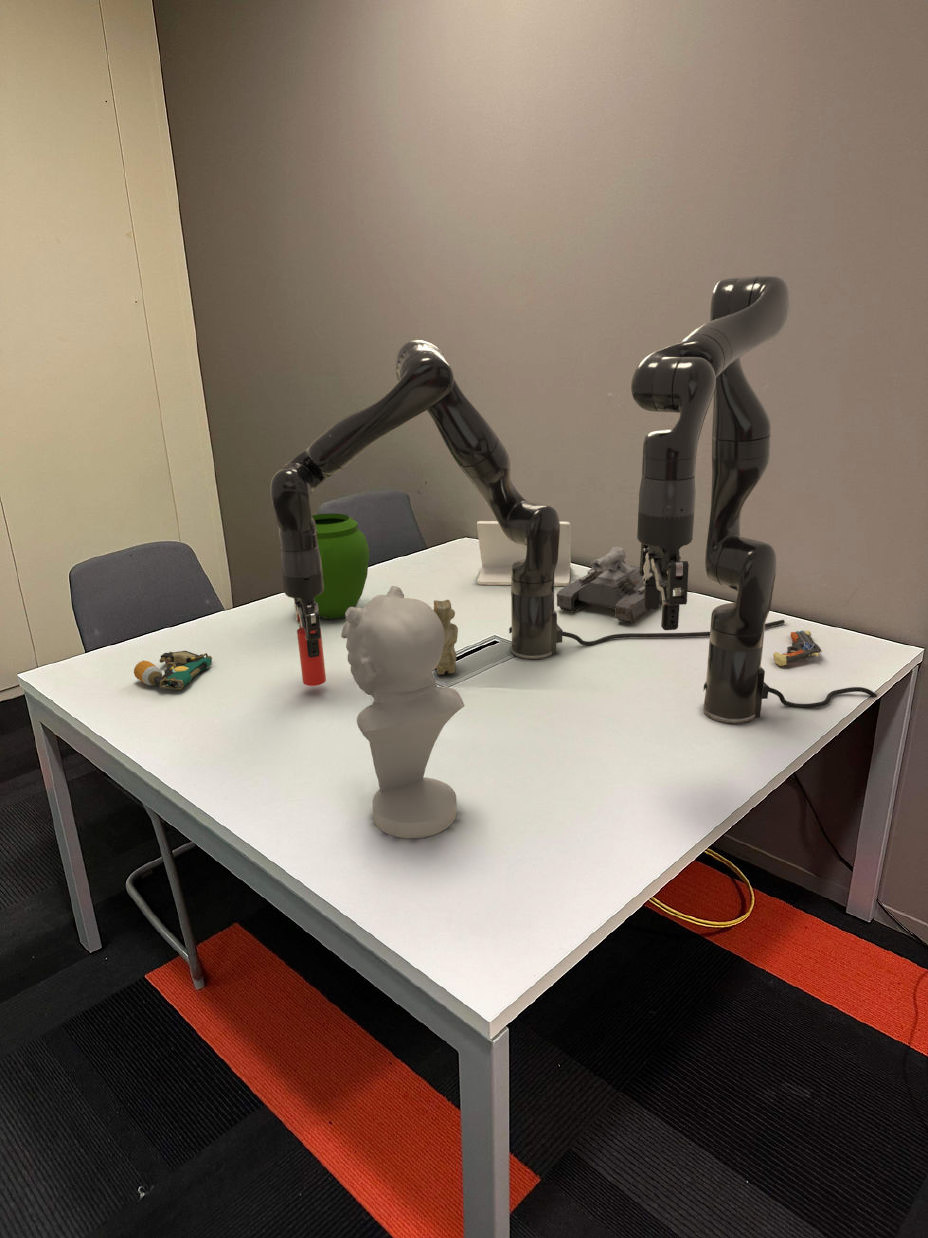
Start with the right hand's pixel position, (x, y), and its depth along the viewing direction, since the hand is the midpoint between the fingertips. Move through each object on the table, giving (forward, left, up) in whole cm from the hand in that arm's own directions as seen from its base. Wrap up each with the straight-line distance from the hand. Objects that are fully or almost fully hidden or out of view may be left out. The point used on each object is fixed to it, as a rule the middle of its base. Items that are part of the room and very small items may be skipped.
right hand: (660, 618), depth 123 cm
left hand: (+55, -46, -21) cm, 75 cm away
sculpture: (+28, -52, -29) cm, 66 cm away
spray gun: (+85, -58, -29) cm, 107 cm away
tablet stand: (+2, -114, -29) cm, 117 cm away
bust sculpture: (+40, -2, -29) cm, 49 cm away
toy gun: (-47, -50, -29) cm, 75 cm away
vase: (+54, -91, -29) cm, 109 cm away
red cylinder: (+55, -46, -27) cm, 77 cm away
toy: (-17, -86, -29) cm, 92 cm away
